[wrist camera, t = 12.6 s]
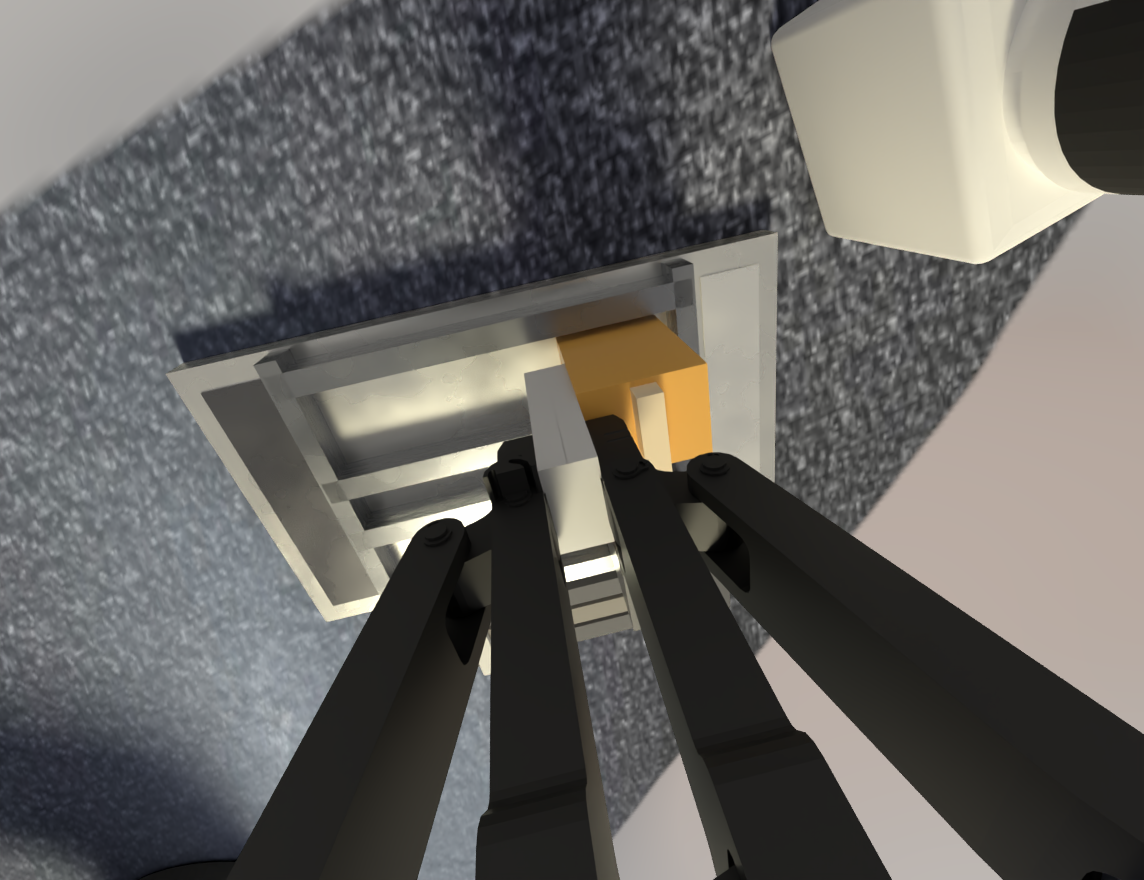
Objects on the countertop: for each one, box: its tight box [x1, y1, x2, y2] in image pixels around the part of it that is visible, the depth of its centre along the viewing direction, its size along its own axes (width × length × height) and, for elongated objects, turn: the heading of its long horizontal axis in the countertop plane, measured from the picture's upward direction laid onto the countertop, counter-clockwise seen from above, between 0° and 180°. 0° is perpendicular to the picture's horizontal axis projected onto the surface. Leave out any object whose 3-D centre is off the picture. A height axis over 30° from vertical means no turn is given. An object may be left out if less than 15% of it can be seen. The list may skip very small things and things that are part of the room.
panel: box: [166, 230, 778, 622], centre depth 22 cm, size 24×14×3 cm, turn 101°
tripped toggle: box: [555, 314, 713, 472], centre depth 18 cm, size 4×3×7 cm
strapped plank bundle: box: [478, 570, 633, 676], centre depth 28 cm, size 18×5×2 cm, turn 101°
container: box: [771, 0, 1144, 264], centre depth 13 cm, size 8×8×13 cm
